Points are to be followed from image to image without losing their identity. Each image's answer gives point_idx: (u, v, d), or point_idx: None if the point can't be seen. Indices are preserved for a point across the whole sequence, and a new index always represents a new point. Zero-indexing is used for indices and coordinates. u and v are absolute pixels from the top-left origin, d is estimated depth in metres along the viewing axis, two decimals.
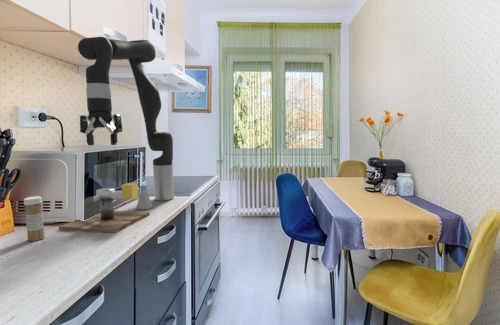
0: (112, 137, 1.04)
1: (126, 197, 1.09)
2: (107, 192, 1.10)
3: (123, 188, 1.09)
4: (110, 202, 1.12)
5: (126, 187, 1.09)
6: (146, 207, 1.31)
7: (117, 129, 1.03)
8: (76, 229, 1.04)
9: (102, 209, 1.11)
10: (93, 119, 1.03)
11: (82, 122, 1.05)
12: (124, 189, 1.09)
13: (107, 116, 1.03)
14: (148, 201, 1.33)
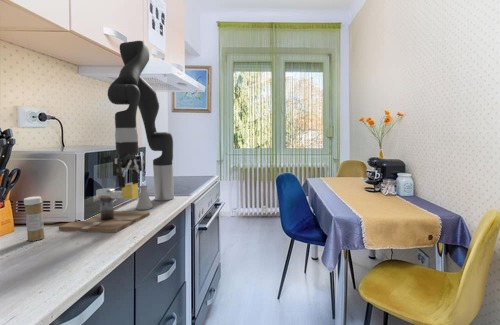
0: (138, 176, 1.15)
1: (126, 197, 1.09)
2: (107, 192, 1.10)
3: (123, 188, 1.09)
4: (110, 202, 1.12)
5: (126, 187, 1.09)
6: (146, 207, 1.31)
7: (141, 169, 1.17)
8: (76, 229, 1.04)
9: (102, 209, 1.11)
10: (130, 161, 1.08)
11: (120, 165, 1.04)
12: (124, 189, 1.09)
13: (135, 158, 1.13)
14: (148, 201, 1.33)
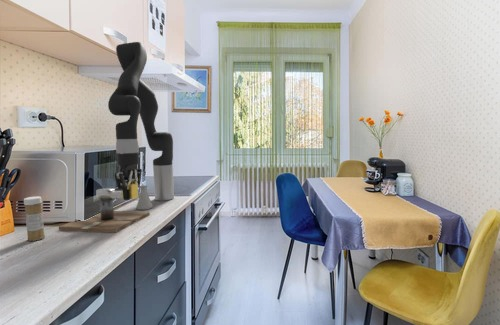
0: None
1: None
2: (107, 192, 1.10)
3: None
4: (110, 202, 1.12)
5: None
6: (146, 207, 1.31)
7: (139, 182, 1.15)
8: (76, 229, 1.04)
9: (102, 209, 1.11)
10: (131, 172, 1.09)
11: (123, 179, 1.05)
12: None
13: (136, 168, 1.13)
14: (148, 201, 1.33)
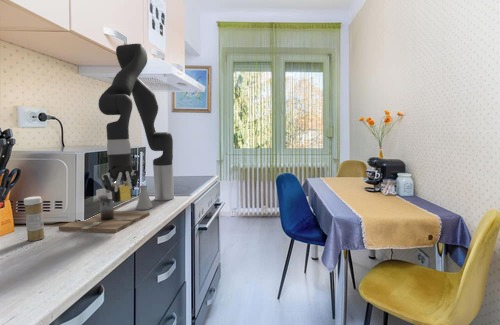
0: None
1: None
2: (103, 192, 1.10)
3: None
4: (110, 202, 1.12)
5: None
6: (146, 207, 1.31)
7: (135, 184, 1.10)
8: (76, 229, 1.04)
9: (102, 209, 1.11)
10: (120, 174, 1.04)
11: (108, 181, 1.02)
12: None
13: (130, 170, 1.09)
14: (148, 201, 1.33)
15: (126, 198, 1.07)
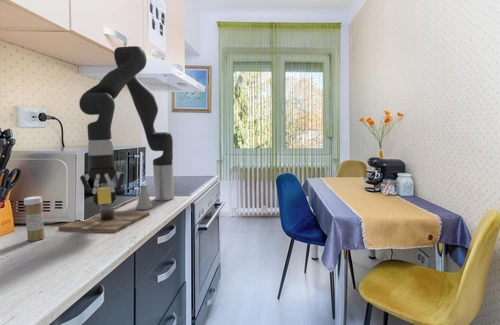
0: (112, 195, 1.04)
1: None
2: None
3: None
4: None
5: None
6: (146, 207, 1.31)
7: (119, 187, 1.04)
8: (76, 229, 1.04)
9: (102, 209, 1.11)
10: (98, 176, 1.01)
11: (85, 182, 1.00)
12: None
13: (113, 172, 1.03)
14: (148, 201, 1.33)
15: (105, 201, 1.02)
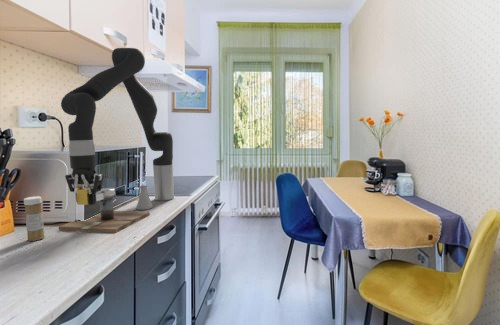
0: (90, 197, 1.01)
1: None
2: (96, 192, 1.11)
3: None
4: (110, 202, 1.12)
5: None
6: (146, 207, 1.31)
7: (94, 189, 1.00)
8: (76, 229, 1.04)
9: (102, 209, 1.11)
10: (76, 176, 1.01)
11: (69, 181, 1.03)
12: None
13: (89, 173, 1.00)
14: (148, 201, 1.33)
15: (83, 202, 1.01)
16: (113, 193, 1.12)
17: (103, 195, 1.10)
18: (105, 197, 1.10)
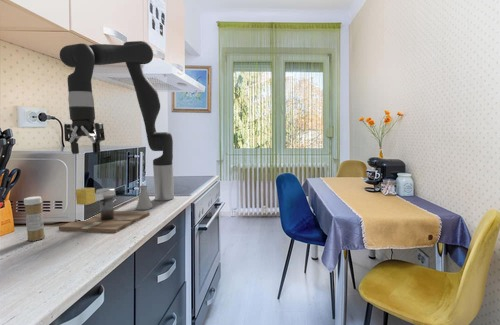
0: (94, 146, 1.02)
1: None
2: (96, 192, 1.11)
3: None
4: (110, 202, 1.12)
5: None
6: (146, 207, 1.31)
7: (98, 138, 1.01)
8: (76, 229, 1.04)
9: (102, 209, 1.11)
10: (75, 128, 1.02)
11: (66, 131, 1.04)
12: None
13: (89, 125, 1.01)
14: (148, 201, 1.33)
15: (82, 202, 1.01)
16: (113, 193, 1.12)
17: (103, 195, 1.10)
18: (105, 197, 1.10)
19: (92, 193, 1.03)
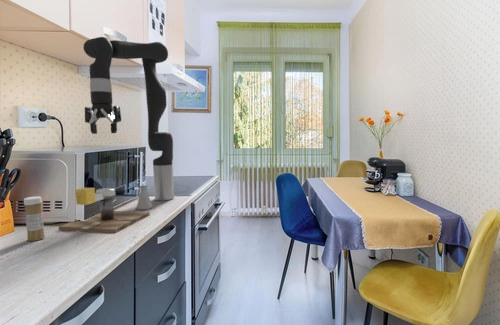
0: (112, 126, 1.17)
1: None
2: (96, 192, 1.11)
3: None
4: (110, 202, 1.12)
5: None
6: (146, 207, 1.31)
7: (116, 119, 1.17)
8: (76, 229, 1.04)
9: (102, 209, 1.11)
10: (96, 110, 1.17)
11: (86, 113, 1.19)
12: None
13: (108, 107, 1.17)
14: (148, 201, 1.33)
15: (82, 202, 1.01)
16: (113, 193, 1.12)
17: (103, 195, 1.10)
18: (105, 197, 1.10)
19: (92, 193, 1.03)
